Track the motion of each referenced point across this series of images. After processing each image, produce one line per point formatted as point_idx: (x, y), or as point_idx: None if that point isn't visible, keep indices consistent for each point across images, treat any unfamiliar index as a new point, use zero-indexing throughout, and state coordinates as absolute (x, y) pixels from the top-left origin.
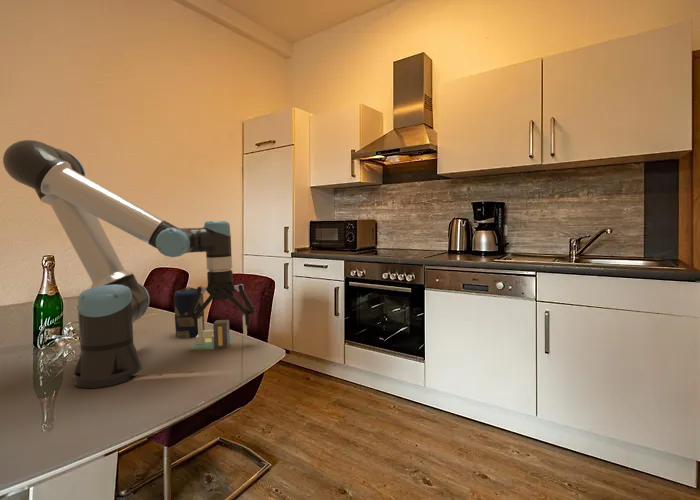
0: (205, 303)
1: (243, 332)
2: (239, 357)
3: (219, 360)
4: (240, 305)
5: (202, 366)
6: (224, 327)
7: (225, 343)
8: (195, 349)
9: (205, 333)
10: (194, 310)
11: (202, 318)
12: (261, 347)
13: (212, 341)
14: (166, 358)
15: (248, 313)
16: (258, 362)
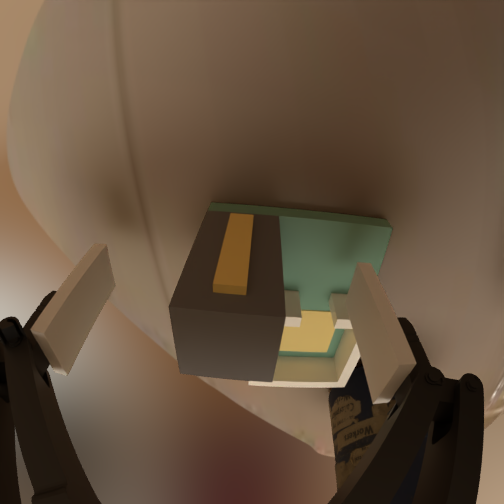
0: (373, 500)
1: (96, 257)
2: (137, 108)
3: (233, 80)
4: (15, 410)
5: (310, 18)
6: (196, 284)
7: (212, 222)
8: (371, 229)
9: (328, 372)
10: (433, 434)
11: (341, 439)
12: (77, 229)
13: (295, 298)
14: (468, 192)
15: (2, 334)
16: (57, 45)
